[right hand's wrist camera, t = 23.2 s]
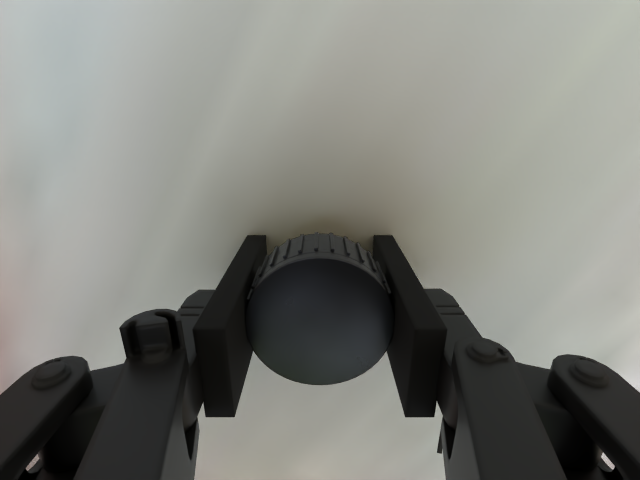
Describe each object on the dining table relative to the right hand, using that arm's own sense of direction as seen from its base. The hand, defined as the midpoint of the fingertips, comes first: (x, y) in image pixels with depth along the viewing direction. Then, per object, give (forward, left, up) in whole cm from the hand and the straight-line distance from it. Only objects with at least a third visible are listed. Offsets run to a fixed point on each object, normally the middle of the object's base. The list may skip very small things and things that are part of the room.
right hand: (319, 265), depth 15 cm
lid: (0, 0, +4) cm, 4 cm away
